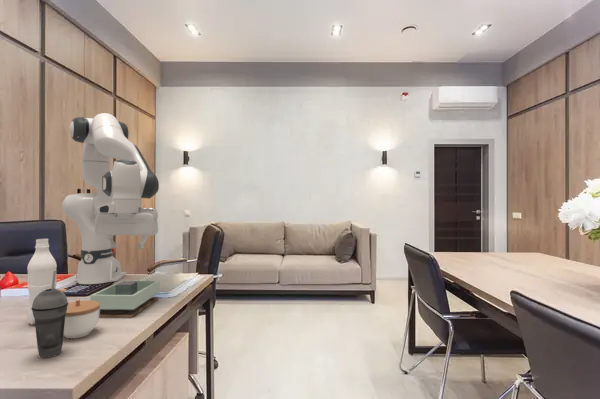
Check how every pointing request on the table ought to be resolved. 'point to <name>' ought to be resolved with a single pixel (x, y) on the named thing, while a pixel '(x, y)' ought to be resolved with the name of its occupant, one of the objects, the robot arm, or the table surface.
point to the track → (123, 312)
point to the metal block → (126, 288)
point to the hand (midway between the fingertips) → (126, 248)
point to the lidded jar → (81, 318)
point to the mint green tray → (126, 296)
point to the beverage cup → (50, 320)
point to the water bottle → (40, 273)
